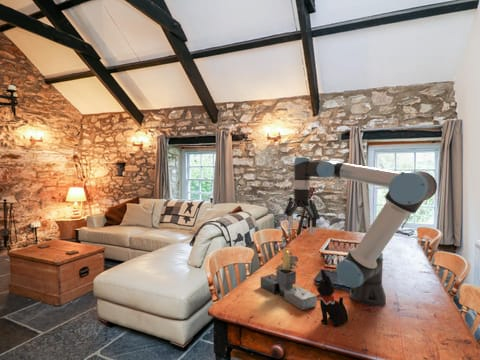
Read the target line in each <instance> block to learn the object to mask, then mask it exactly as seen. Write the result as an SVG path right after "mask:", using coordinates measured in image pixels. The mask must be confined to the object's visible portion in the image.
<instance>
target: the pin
mask: <svg viewBox="0 0 480 360" xmlns="http://www.w3.org/2000/svg"><path fill="white" fill-rule="evenodd" d="M290 253H291V252H290V250H288V249H287V250H283V251H282V258H283V260H282V263H283V273H286V274H287V273H289V269H290V267H289V258H290Z"/></svg>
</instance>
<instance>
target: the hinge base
mask: <svg viewBox="0 0 480 360" xmlns="http://www.w3.org/2000/svg"><path fill="white" fill-rule="evenodd" d="M296 275H297V272H296V270H292V269H290V268H289V273H287V274H286V273H283V269H280V270H279V269H277V270H276V273H275V274H273V273H271V274H267V275H264V276H261V277H260V288H262V289H263V290H266V291H267V292H269V293H271V294H273V295H276V294H278V296H279V297H281V298H283V299H284V289H287V288H290V287H294V285H296V282H297V281H296V280H297V279H296V278H297V276H296Z"/></svg>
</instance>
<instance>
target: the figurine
mask: <svg viewBox="0 0 480 360" xmlns="http://www.w3.org/2000/svg"><path fill="white" fill-rule="evenodd" d="M320 273H321V278H322V279H321V280H319V284H318V286H317V288H316V291H317V292H318V295H317V294H316V302H318V301H320V303H319V305H320V311H321V315H322V319H321V320H320V322H321V323H322V325H324V326H325V325H328V320H330V321H331V322H332V323H333V324H332V327H333V328H338V327H340V325H341V326H343V325H345V324H346V323H347V322H348V320H349V315H348V311H347V309H346V307H345V305H344V298H343V296H340V297H339V301H337V300H336V299H335V297H334V295H333V294H334V293H335V285H334V282H332V280H331V277H330V276H329V275H327V273H326V272H325V270H324V269H323V268H321V271H320Z"/></svg>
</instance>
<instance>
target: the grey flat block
mask: <svg viewBox="0 0 480 360" xmlns="http://www.w3.org/2000/svg"><path fill="white" fill-rule="evenodd" d="M316 296H317V294H315V293H313V292H311V291H308V290H307V289H305V288H303V287H301V286H299V285H295V286H294V285H293V287H290V288H287V289H284V298H283V300H285V301H287V302H288V303H290V304H291V305H293V306H295V307H296V308H298V309H299V310H301V311H305V310H308V309H311V308H314V307H317V300H316Z"/></svg>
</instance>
